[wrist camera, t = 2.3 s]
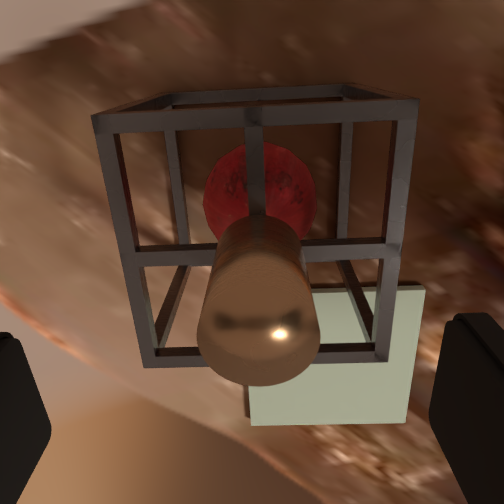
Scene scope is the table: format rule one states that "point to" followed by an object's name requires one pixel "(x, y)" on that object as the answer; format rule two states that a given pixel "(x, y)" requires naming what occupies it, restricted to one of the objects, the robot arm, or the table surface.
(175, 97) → the dark grey metal frame
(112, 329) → the table surface
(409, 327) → the mat
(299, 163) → the onion
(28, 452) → the robot arm
